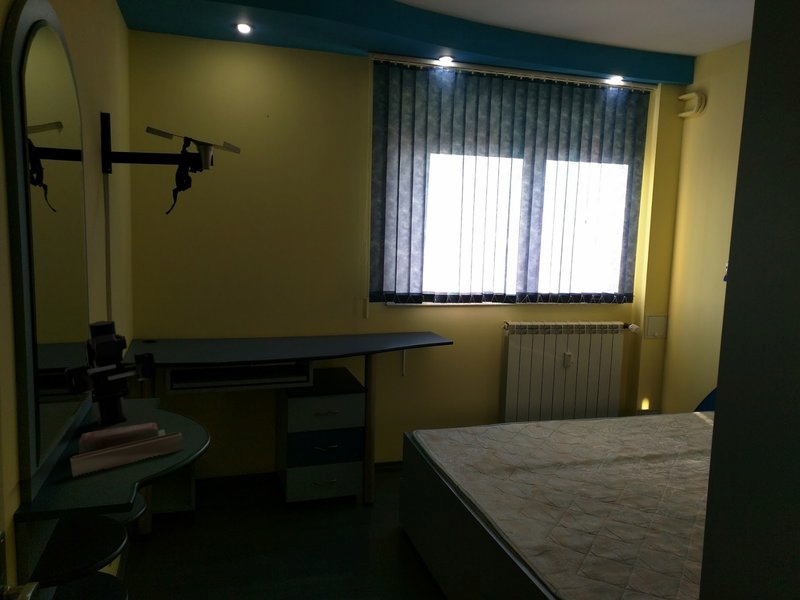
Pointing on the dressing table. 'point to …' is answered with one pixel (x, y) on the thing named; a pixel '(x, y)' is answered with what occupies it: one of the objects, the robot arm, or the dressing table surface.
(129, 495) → the dressing table surface
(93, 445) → the packaged product
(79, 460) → the oak rail
